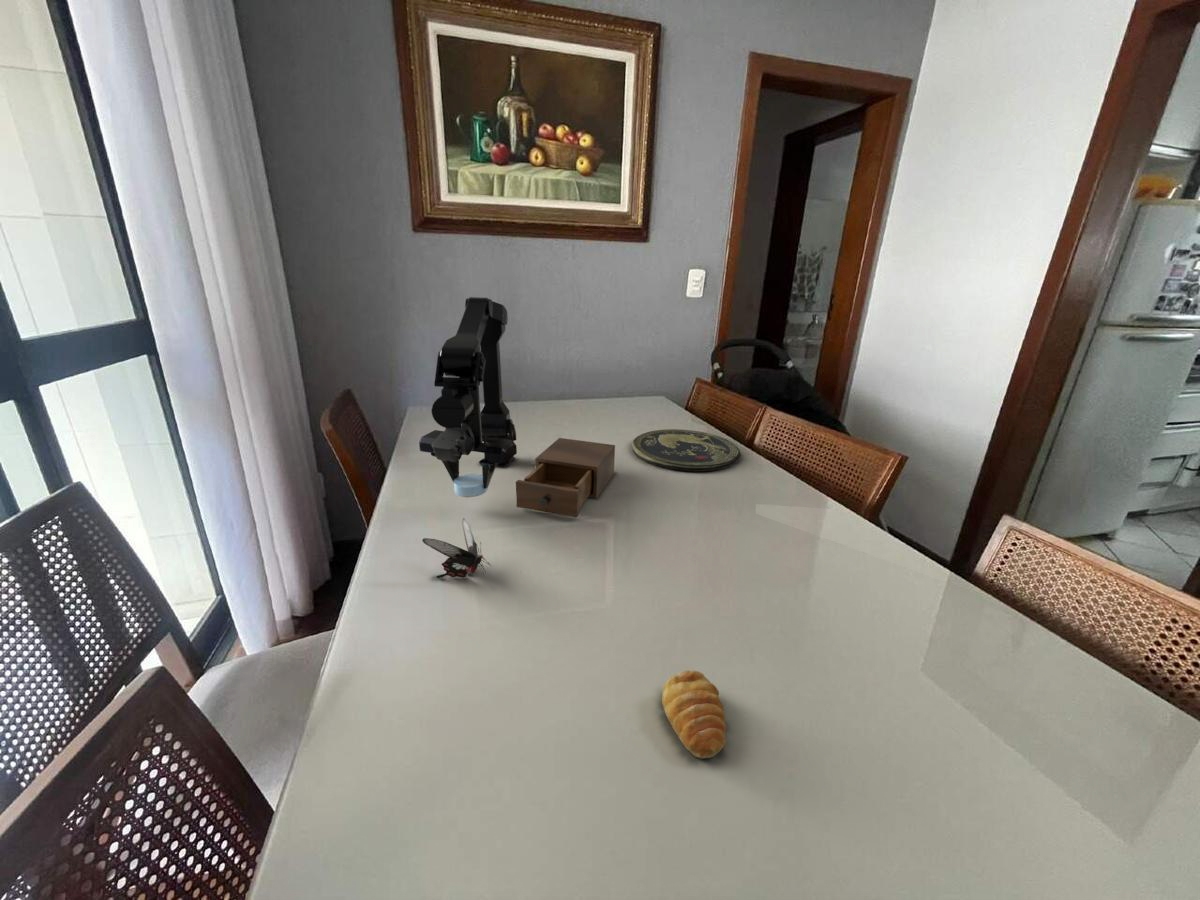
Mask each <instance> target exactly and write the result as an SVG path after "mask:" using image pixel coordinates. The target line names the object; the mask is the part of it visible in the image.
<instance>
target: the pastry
mask: <svg viewBox="0 0 1200 900" xmlns="http://www.w3.org/2000/svg"><path fill="white" fill-rule="evenodd" d="M719 695H720V691H719V690H718V688H717V687H716V685H715V684H714V683H712V682H711V681H710V680H709V679H708V678H707V677H706V676H705V674H704V673H703V672H701V671H698V670H683V671H681V672H680V673H677V674H674V675H672V676H671V677H670V678H669V679H668V680H667V681H666V682H665V683H664V684H663V687H662V699H661V703H662V708H663V710H664V713H665V716H666V718H667V720H668V721H669V723H670V725H671V727H672V729H673V731H674V732H675V734H676V735H677V738H678V739H679V740H680V742H681V743H682V745H683V746H684V748H685V749H686V750H687V751H689V752H690V754H691V755H693V756H694V757H696V758H698V759H710V758H713V757H715V756H716V755H718V754H719V753H720V751H721V750H722V749H723V748H724V747H725V745H726V744H727V739H726V732H727V725H726V717H725V707H724V705H723V702H722V701H721V699H720V697H719Z"/></svg>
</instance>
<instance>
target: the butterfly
mask: <svg viewBox="0 0 1200 900" xmlns="http://www.w3.org/2000/svg"><path fill="white" fill-rule="evenodd" d="M461 524H462V530H463V536H464V540H465V544H466V549H467V550H466V549H463V548H461V547H459V546H456V545H454V544H452V543H449V542H447V541H443V540H439V539H435V538H429V537H428V538H425V537H423V538H422V540H421V541H422V543H423V544H424V545H426V546H427V547H429V548H431V549H433V550H435V551H436V552H438V553H440V554H442V555H444V556H446V557H447V559H445V561H444V562H442V563H441V566H442V567H443V571H444V572H445V573H442V574H439V575H436V576H435V577H436V578H437V579H442V578H444V577H447V576H448V577H451V578H457V577H458V578H466V577H467V576H468V575H469V574H470V573H471V574H472V575H473V574H475V573H476V571H477V569H478V568H480V570H481V572H482V573H483V574H485V573H484V572H486V570H485V566H484V564H483V563H485V564H487V565H490V566H491V563H489V562H487V560H486V558H485V557H484V555H483V554H481V553H482V549H480V548H479V546H478V544H477V542H476V540H475V538H474V535H473V531H472V529H471V526H470V525H469V523H468V521H467V519H466V518H465V517H463V518H462V520H461ZM479 544H480V545H482V542H481V541H479Z"/></svg>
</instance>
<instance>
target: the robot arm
mask: <svg viewBox="0 0 1200 900" xmlns="http://www.w3.org/2000/svg"><path fill="white" fill-rule="evenodd" d="M464 307H465V308H464V311H463V315H462V317H461V319H460V323H459V325H458V327H457V331H456V334H455V335H453V336H452V337H450V338H448V339H446V340H445V341H444V343H443V345H442V347H441V349H440V351H438V353H437V357H436V358H437V360H436V366H435V367H436V368H435V375H434V384H433V385H434V387H435V388H436V387H437V388H438V387H439V388H440V387H441V389H440V390H441V391H440V393H441V395H440V396H439V397H438V398H437V399H436V400H435V401H434V402H433V404H432V406H431V416H432V418H433V419H434V422H435V423H436V424H438V425H439V426H440V427H442V428H445V429H444V430H438V429H434V430H433V431H430V432H428V433H426V434H425V435H422V436H421V437H420V439H419V441H418V446H419V451H420V452H423V453H430V455H431V456H432V457H434V458H436V460H438V461H441V463H442V464H443V466H444V467H445V469H446V472H447V473H448V475H449V477H450V479H451V481H452V484H454V480H455V479H456V478H457V477H459V476H460V460H461V458H462V456H463V455H464V456H469V455H470V454H471V452H475V453H482V454H483V455H484V457H483V458H482V459H480V460H479V461H478V463H479V465H480V466H481V470H482V474H481V475H483V486H484V489H486V488H487V487H488V488H489V486H490V483H491V480H492V478H493V475H494V473H495V470H496V468H497V467H498V468H505V467H506V466H508V465H510V463H512V462H513V461H514V460H515V458H516V457H515V455H517V454H518V451H517V449H518V448H517V444H516V443H515V441H517V430H516V426H515V424H514V421H513V419H512V418H511V412H510V409H509V408H508V406H507V405H506V403H505V402H504V399H503V383H502V369H501V368H502V367H501V365H502V363H501V349H500V348H501V347H500V342H501V340H502V338H503V336H504V334H505V332H506V330H507V329H506V326H508V320H509V319H508V317H509V316H508V309H507V308H506V306H505V305H504V304H501V303H498V302H496V301H493V300H492V299H491V298H488V297H479V296H478V297H477V296H476V297H474V296H470V297H467V298H466V299H465V303H464ZM444 375H445V376H444ZM481 383H482V395H483V406H482V408H481V400H480V399H481V398H480V386H481Z"/></svg>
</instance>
